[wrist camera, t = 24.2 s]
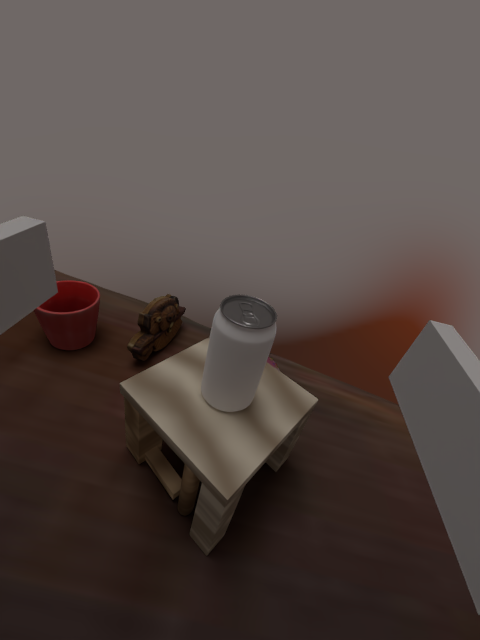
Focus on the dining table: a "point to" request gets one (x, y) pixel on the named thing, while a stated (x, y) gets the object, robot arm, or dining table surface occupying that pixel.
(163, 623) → the dining table surface
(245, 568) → the dining table surface
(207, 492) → the stool
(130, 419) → the gate leg
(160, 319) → the wooden carving
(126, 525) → the dining table surface
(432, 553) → the dining table surface
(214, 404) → the can
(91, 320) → the flower pot
